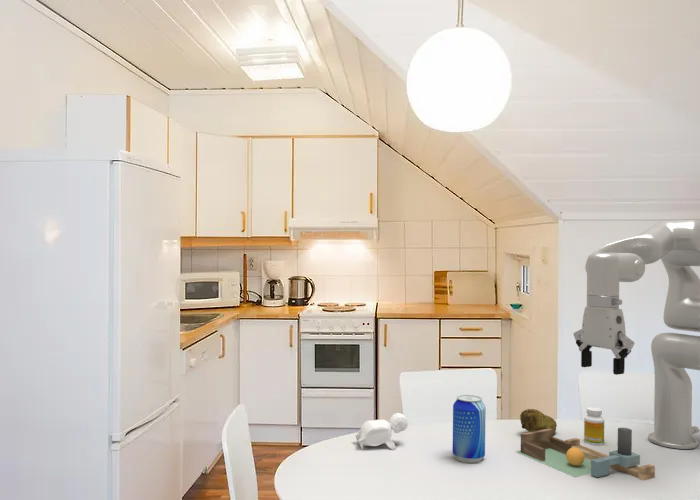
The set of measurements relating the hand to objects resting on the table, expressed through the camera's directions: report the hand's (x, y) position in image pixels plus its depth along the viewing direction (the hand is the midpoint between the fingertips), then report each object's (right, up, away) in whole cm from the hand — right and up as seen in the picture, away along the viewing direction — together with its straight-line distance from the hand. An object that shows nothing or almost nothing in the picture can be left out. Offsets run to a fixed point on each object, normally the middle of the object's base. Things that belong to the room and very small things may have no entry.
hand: (602, 370), depth 146 cm
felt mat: (-8, -25, +6) cm, 27 cm away
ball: (-6, -25, +2) cm, 26 cm away
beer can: (-32, -25, +7) cm, 41 cm away
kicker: (+2, -25, -2) cm, 25 cm away
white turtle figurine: (-55, -25, +16) cm, 62 cm away
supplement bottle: (+7, -25, +21) cm, 33 cm away
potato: (-7, -25, +27) cm, 38 cm away
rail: (+3, -25, +4) cm, 26 cm away
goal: (-10, -25, +10) cm, 29 cm away
